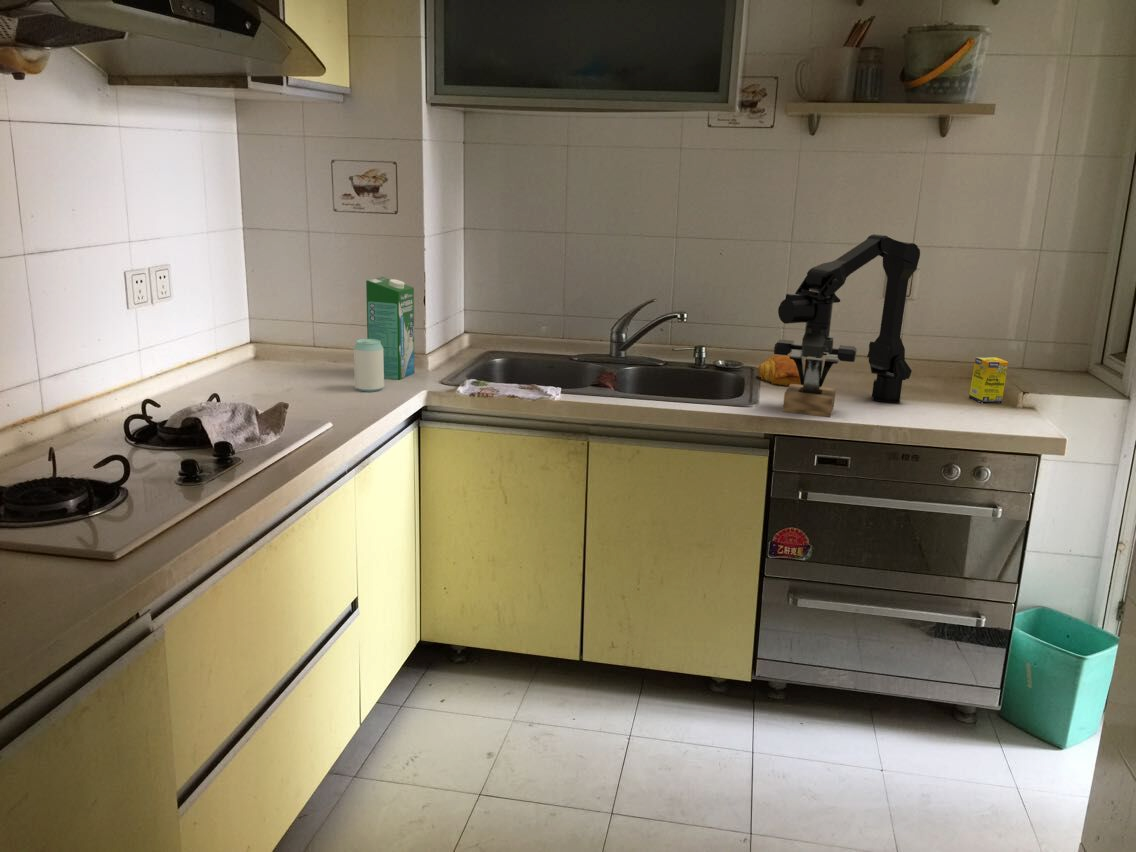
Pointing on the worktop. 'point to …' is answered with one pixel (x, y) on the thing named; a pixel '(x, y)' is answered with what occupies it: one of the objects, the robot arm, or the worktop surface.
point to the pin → (812, 375)
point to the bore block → (809, 401)
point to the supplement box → (988, 379)
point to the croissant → (780, 371)
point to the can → (368, 365)
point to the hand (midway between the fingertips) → (811, 385)
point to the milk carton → (392, 324)
